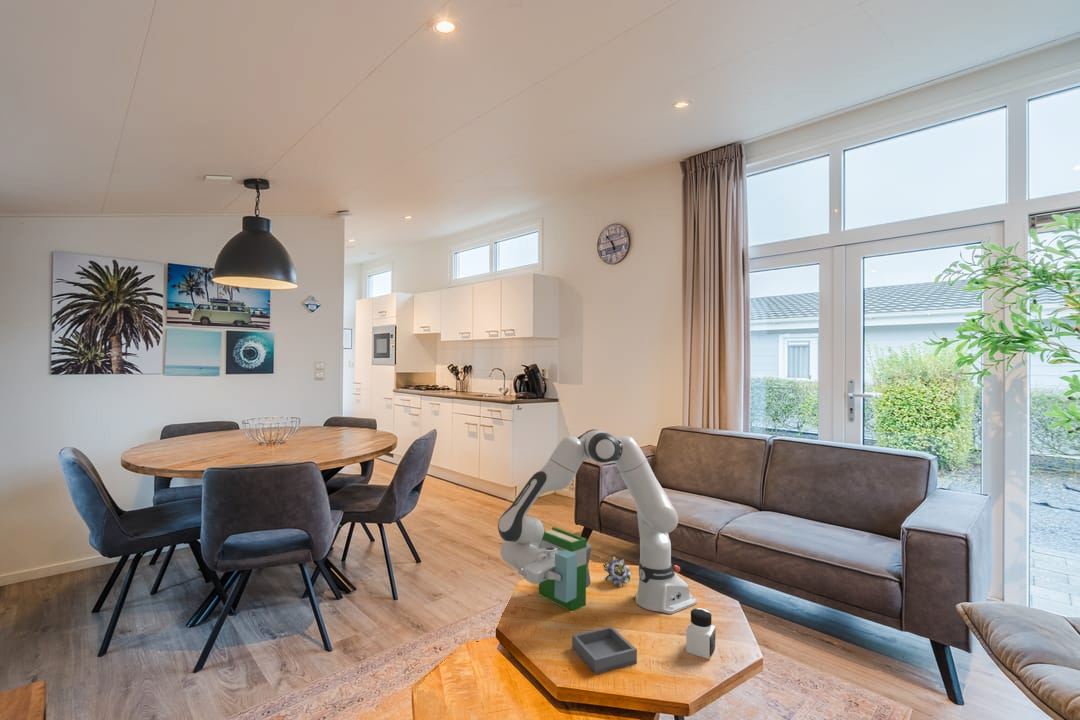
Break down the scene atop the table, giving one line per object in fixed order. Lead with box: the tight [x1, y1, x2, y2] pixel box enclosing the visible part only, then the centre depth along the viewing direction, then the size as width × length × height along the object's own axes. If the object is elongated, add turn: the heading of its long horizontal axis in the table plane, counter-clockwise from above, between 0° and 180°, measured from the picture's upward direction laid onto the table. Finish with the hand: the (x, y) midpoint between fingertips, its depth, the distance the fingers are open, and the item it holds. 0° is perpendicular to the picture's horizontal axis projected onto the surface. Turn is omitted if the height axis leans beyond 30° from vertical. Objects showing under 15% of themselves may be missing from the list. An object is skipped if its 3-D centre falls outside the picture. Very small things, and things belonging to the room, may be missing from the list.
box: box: [571, 626, 638, 675], centre depth 147 cm, size 14×14×4 cm
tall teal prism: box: [555, 550, 577, 603], centre depth 158 cm, size 5×5×14 cm
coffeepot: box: [586, 542, 592, 588], centre depth 198 cm, size 15×9×18 cm, turn 16°
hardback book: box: [538, 526, 587, 612], centre depth 183 cm, size 18×7×24 cm, turn 41°
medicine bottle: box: [685, 607, 716, 660], centre depth 150 cm, size 7×7×12 cm
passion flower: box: [602, 556, 633, 588], centre depth 198 cm, size 11×11×12 cm
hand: (567, 574), depth 157 cm, fingers closed on tall teal prism, 5 cm apart
